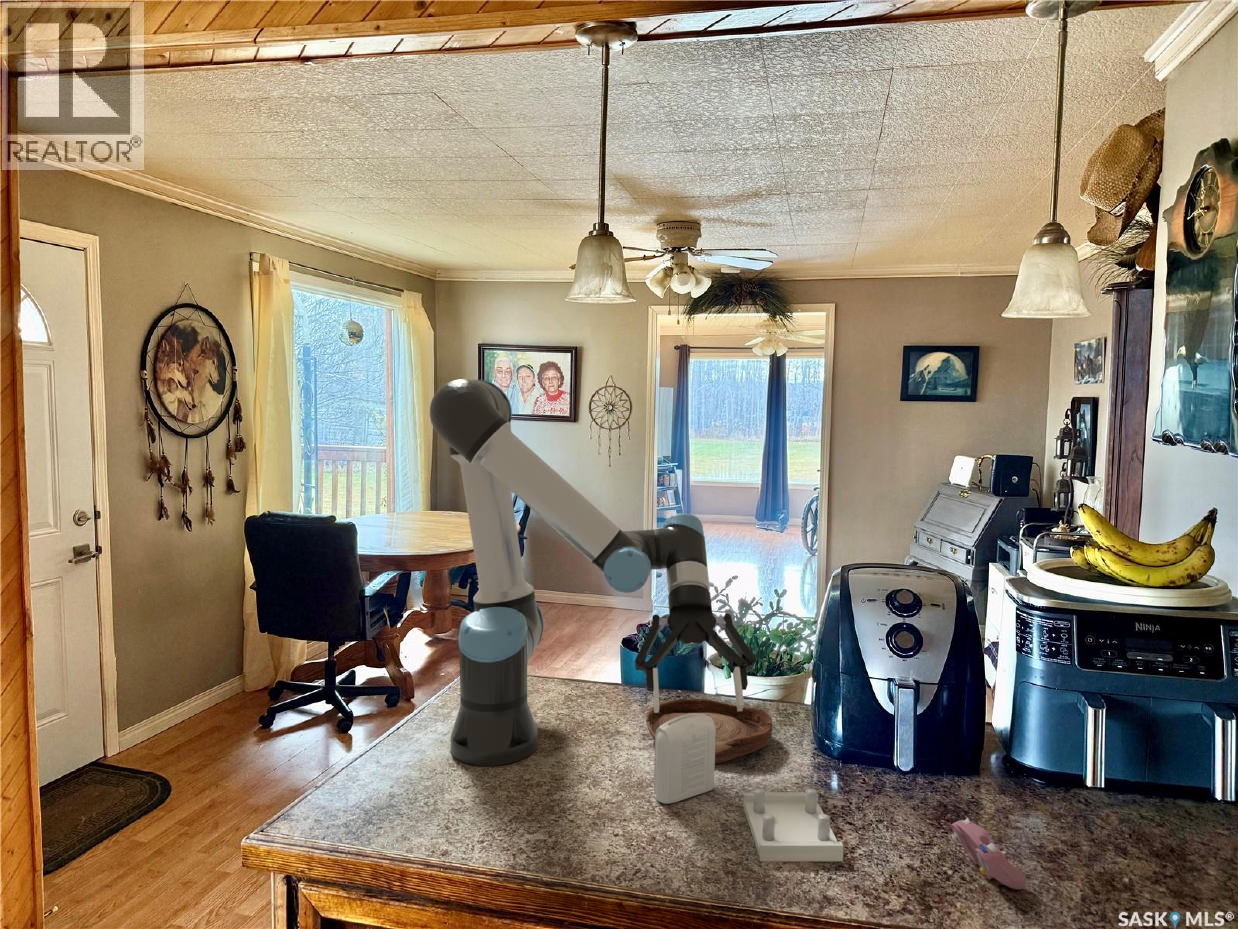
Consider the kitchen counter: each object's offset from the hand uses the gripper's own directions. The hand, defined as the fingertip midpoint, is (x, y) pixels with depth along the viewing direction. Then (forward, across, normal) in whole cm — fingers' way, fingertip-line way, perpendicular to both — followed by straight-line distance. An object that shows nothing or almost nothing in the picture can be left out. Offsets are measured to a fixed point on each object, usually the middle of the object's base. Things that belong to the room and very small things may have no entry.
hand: (698, 709), depth 127 cm
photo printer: (+12, +3, -4) cm, 13 cm away
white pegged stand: (+20, -11, +4) cm, 23 cm away
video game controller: (+26, -35, +10) cm, 45 cm away
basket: (-1, -3, -18) cm, 18 cm away
